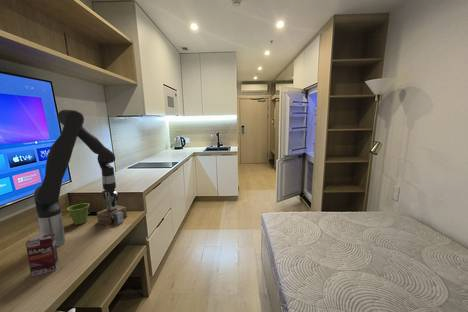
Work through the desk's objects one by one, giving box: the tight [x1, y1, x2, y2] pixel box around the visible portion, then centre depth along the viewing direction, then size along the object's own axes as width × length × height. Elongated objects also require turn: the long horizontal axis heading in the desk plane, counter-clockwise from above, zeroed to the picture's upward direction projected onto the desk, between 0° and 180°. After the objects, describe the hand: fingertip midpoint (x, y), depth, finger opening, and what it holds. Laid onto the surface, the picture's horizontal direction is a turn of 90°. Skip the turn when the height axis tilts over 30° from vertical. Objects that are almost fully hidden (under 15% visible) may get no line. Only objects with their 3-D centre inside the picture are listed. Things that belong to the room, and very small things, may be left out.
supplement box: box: [25, 233, 59, 277], centre depth 90 cm, size 9×5×16 cm, turn 118°
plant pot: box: [66, 202, 90, 226], centre depth 135 cm, size 12×12×11 cm
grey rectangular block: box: [113, 211, 124, 225], centre depth 134 cm, size 4×4×7 cm
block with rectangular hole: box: [96, 204, 128, 226], centre depth 139 cm, size 14×10×7 cm
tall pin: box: [105, 198, 117, 221], centre depth 138 cm, size 4×4×14 cm
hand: (111, 205), depth 138 cm, fingers closed on tall pin, 4 cm apart
